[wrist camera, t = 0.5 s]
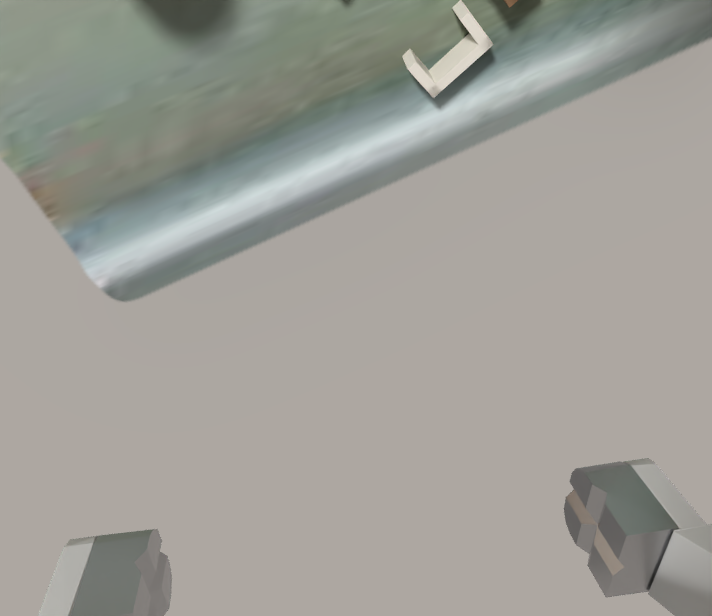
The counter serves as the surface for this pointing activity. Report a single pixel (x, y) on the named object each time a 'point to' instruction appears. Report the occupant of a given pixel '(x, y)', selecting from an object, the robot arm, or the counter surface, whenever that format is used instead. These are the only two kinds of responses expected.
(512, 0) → the slat
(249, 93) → the counter surface
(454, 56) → the cap
